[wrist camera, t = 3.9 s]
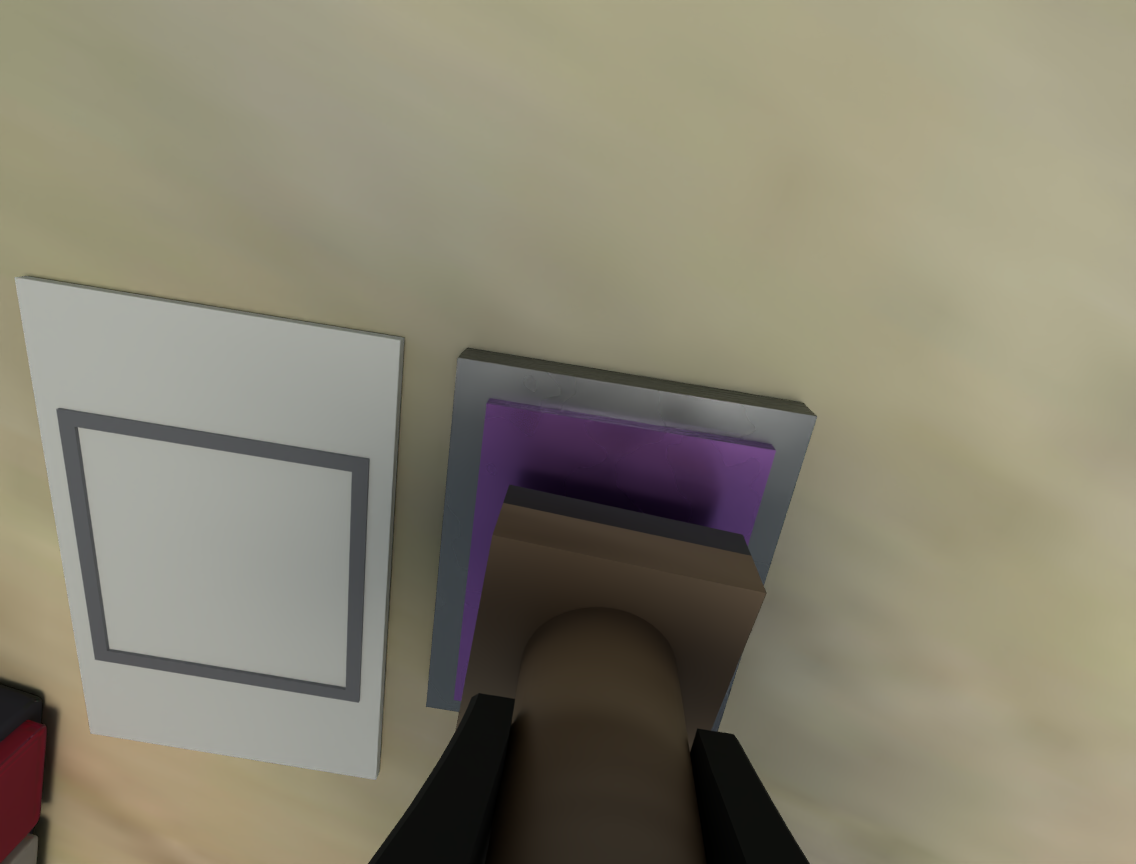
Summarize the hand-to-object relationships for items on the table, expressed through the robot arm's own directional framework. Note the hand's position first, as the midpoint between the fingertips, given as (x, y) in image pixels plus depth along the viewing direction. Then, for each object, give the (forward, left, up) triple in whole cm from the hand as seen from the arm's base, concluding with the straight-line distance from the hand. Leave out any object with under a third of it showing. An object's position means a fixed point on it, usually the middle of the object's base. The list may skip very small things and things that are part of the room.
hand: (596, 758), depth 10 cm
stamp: (0, 0, -4) cm, 4 cm away
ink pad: (0, 0, -6) cm, 6 cm away
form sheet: (-2, +10, -6) cm, 12 cm away
